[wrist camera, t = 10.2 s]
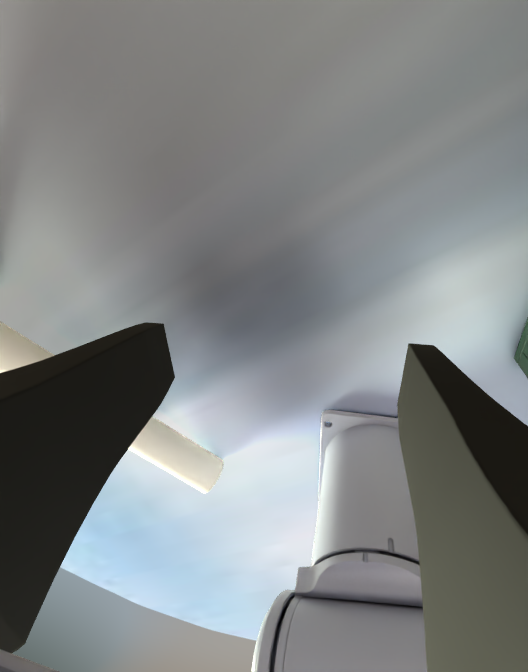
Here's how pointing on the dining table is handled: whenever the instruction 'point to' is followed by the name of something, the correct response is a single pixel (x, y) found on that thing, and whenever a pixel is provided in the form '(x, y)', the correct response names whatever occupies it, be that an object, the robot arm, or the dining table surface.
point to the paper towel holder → (152, 442)
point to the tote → (523, 351)
